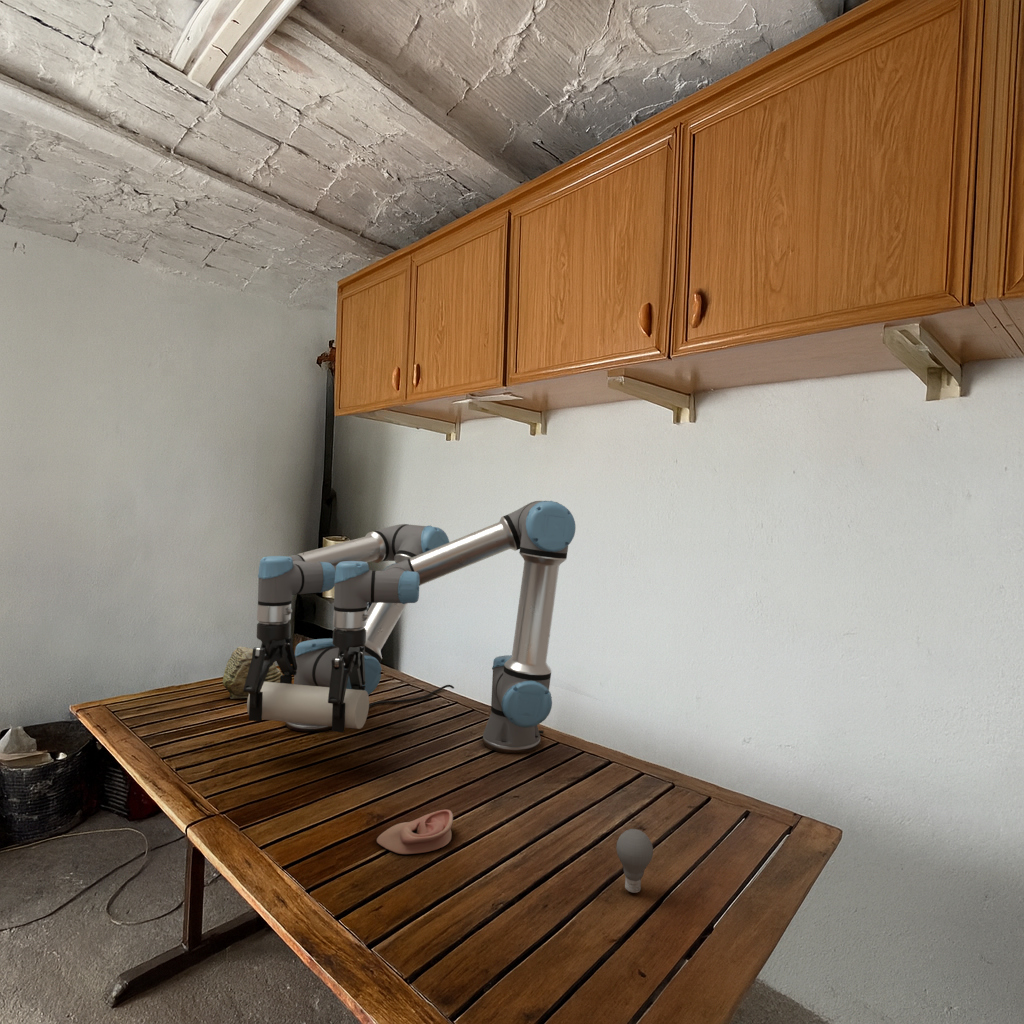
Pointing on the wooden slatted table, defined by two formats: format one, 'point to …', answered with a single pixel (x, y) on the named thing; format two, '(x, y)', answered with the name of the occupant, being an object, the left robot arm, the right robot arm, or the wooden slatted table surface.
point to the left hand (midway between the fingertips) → (270, 710)
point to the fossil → (243, 672)
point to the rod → (310, 704)
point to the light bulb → (634, 857)
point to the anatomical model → (419, 834)
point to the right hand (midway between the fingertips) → (346, 724)
